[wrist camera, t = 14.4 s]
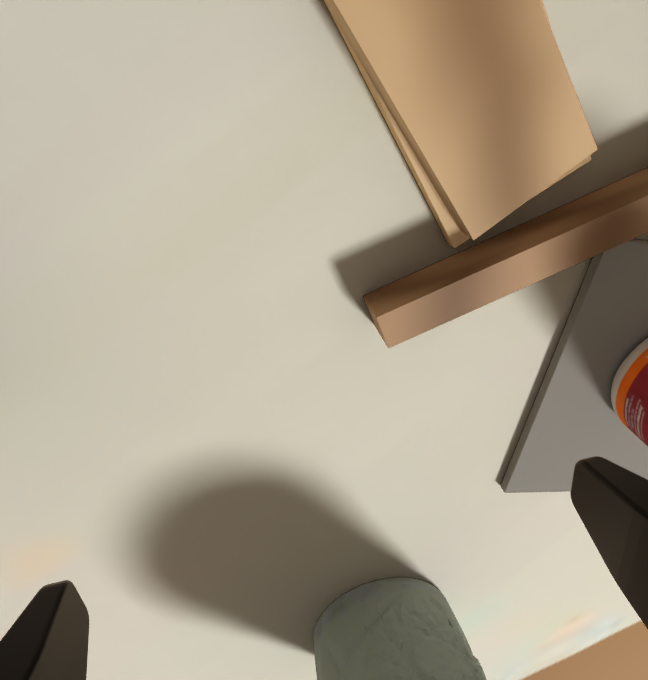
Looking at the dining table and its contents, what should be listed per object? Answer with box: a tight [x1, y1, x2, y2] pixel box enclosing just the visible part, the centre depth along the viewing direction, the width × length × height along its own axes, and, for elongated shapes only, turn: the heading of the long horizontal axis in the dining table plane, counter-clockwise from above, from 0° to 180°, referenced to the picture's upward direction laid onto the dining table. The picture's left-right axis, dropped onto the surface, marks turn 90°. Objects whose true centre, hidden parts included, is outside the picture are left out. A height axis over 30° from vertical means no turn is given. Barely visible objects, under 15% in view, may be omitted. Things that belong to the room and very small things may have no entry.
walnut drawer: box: [363, 168, 648, 348], centre depth 15 cm, size 18×16×7 cm
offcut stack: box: [324, 0, 598, 248], centre depth 18 cm, size 6×12×2 cm, turn 32°
